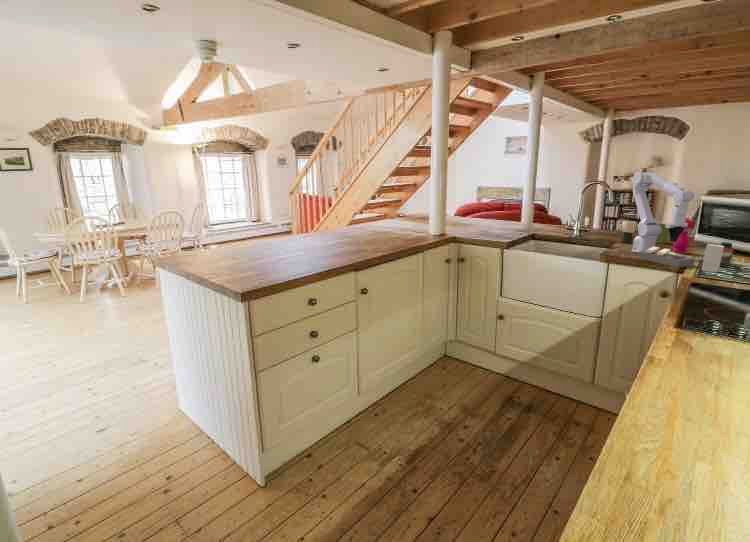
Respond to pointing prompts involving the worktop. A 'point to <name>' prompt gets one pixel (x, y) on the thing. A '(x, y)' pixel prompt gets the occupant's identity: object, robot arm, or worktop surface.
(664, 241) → the plant pot
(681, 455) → the worktop surface
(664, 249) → the middle rocker
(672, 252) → the right rocker
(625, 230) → the character mug
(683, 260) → the power strip
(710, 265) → the skincare box
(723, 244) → the supplement bottle
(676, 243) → the pepper mill
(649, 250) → the left rocker
